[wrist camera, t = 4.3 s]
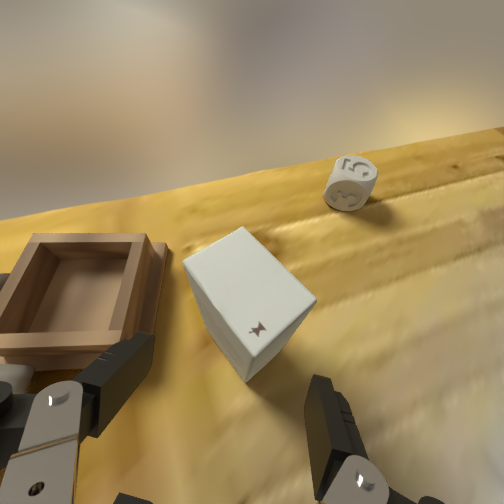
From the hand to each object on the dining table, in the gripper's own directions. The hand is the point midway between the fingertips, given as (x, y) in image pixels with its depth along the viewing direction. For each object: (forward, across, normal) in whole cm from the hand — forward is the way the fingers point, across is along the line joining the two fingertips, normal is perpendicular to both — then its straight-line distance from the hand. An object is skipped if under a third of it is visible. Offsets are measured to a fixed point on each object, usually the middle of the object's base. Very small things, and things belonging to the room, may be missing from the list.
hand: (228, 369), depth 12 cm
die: (+24, -9, -11) cm, 28 cm away
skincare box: (+10, 0, +4) cm, 10 cm away
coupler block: (+7, +17, +7) cm, 19 cm away
